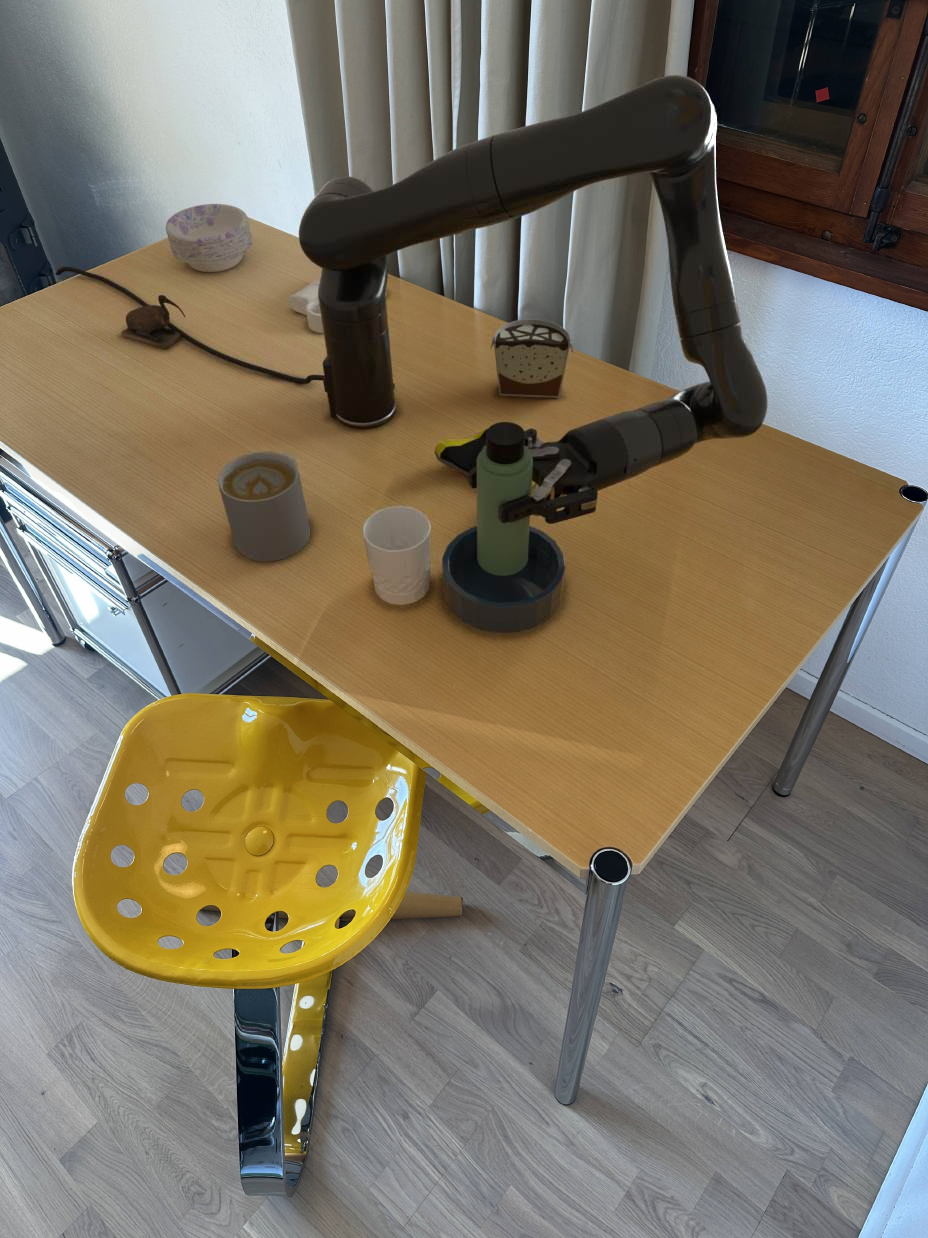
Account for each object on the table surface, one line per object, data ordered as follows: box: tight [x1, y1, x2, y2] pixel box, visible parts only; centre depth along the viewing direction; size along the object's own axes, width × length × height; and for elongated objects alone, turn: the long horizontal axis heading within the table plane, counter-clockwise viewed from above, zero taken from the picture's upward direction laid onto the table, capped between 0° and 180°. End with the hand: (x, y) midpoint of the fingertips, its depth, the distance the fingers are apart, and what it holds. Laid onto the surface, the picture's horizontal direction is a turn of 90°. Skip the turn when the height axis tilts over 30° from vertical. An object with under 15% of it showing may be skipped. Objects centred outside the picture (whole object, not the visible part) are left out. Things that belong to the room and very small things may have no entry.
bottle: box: [476, 421, 533, 576], centre depth 97 cm, size 6×6×18 cm
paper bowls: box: [165, 203, 253, 273], centre depth 165 cm, size 15×15×8 cm
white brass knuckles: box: [287, 277, 324, 334], centre depth 154 cm, size 3×18×15 cm
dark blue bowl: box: [441, 525, 566, 634], centre depth 106 cm, size 15×15×5 cm
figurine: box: [120, 294, 186, 350], centre depth 146 cm, size 14×4×9 cm, turn 63°
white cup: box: [362, 505, 432, 606], centre depth 105 cm, size 8×8×10 cm
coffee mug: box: [217, 450, 311, 563], centre depth 112 cm, size 13×10×10 cm
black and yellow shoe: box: [434, 428, 538, 492], centre depth 120 cm, size 15×6×10 cm
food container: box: [489, 318, 574, 399], centre depth 134 cm, size 12×6×10 cm, turn 84°
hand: (485, 497), depth 95 cm, fingers closed on bottle, 6 cm apart
